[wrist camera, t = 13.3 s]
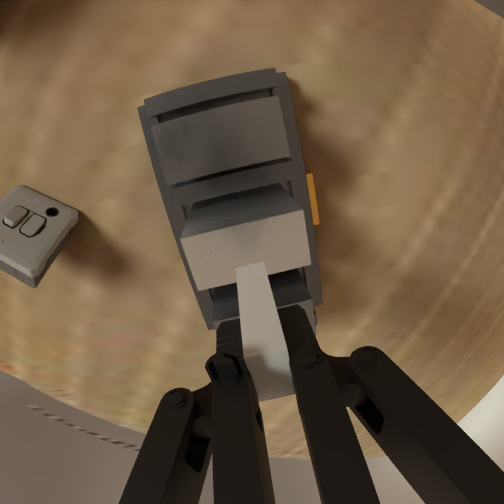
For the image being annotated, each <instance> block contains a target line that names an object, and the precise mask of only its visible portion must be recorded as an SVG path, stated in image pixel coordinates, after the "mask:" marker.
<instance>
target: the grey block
mask: <svg viewBox="0 0 504 504" xmlns="http://www.w3.org/2000/svg"><path fill="white" fill-rule="evenodd" d="M180 240H181V243H182V246H183V249H184V252H185V255H186V258H187V261H188V264H189V267H190V269H191V272H192V275H193V278H194V281H195V283H196V286H197V289H198V291H200V290H205V289H209V288H214V287H218V286H223V285H227V284H231V283H236V282H237V278H236V268H237V267H242V266H246V265H250V264H255V263H259V262H263V261H264V265H265V269H266V272H267V275H270V274H274V273H278V272H282V271H287V270H291V269H295V268H299V267H303V266H307V265H311V259H310V252H309V245H308V238H307V231H306V224H305V218H304V212H303V209H302V208H301V207H300V206H299V204H298V203H297V202H296V201H295V200H294V199H293V197H292V196H291V195H290V194H289V193H288V192H287V191H286V190H285V188H284V187H283V186H282V185H281V184H280V183H275V184H270V185H266V186H261V187H257V188H252V189H248V190H243V191H239V192H235V193H231V194H226V195H222V196H218V197H214V198H210V199H206V200H202V201H198V202H194V203H193V204H192V207H191V210H190V212H189V215H188V218H187V221H186V224H185V226H184V229H183V232H182V235H181V238H180Z"/></svg>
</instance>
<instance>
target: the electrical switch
mask: <svg viewBox="0 0 504 504" xmlns="http://www.w3.org/2000/svg"><path fill="white" fill-rule="evenodd" d="M77 222H78V211H77V210H75V209H73V208H71V207H69V206H66V205H64V204H62V203H60V202H58V201H55V200H53V199H51V198H49V197H47V196H44V195H42V194H40V193H38V192H36V191H34V190H31V189H29V188H27V187H25V186H23V185H18V186H15V187H14V188H13V189H12V190H11V191H10V192H9V193H8V194H7V195H5V196H4V197H3V198H2V199H1V200H0V269H1V270H3V271H4V272H6V273H8V274H10V275H11V276H13V277H15V278H16V279H18V280H20V281H22V282H23V283H25V284H27V285H29V286H31V287H33V288H34V289H35V286H36V287H37V286H38V284H39V282H40V281H41V279H42V278H43V276H44V275H45V273H46V272H47V270H48V269H49V267H50V266H51V264H52V263H53V261H54V260H55V258H56V257H57V255H58V254H59V252H60V251H61V250H62V248H63V247H64V245H65V244H66V243H67V241H68V240H69V233H70V229H71V227H72V228H73V227H74V226H75V224H76V223H77ZM25 280H26V281H25Z"/></svg>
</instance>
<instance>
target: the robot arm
mask: <svg viewBox="0 0 504 504" xmlns="http://www.w3.org/2000/svg"><path fill="white" fill-rule="evenodd" d="M236 278H237V290H238V301H239V312H240V318H238V319H234V320H229V321H224V322H221V323H220V325H219V327H218V329H217V340H216V345H217V347H216V354H214V355H213V356H211V357H210V358H209V359H208V360H207V362H206V365H205V369H206V371H207V373H208V375H209V377H210V379H211V382H210V383H209V384H208V385H206V386H205V387H203V388H200V389H198V390H196V391H193V392H191V391H190V390H188V389H186V388H175V389H173V390H170V391H169V392H167V393H166V394H165V395H164V396H163V398H162V399H161V401H160V404H159V406H158V408H157V411H156V413H155V415H154V418H153V420H152V423H151V425H150V427H149V430H148V432H147V435H146V437H145V439H144V442H143V444H142V447H141V449H140V452H139V454H138V457H137V459H136V461H135V464H134V467H133V469H132V471H131V474H130V476H129V479H128V481H127V484H126V486H125V489H124V492H123V494H122V496H121V499H120V502H119V504H198V503H199V499H200V495H201V492H202V488H203V484H204V480H205V477H206V473H207V469H208V466H209V462H210V458H211V454H212V455H213V489H214V504H275V498H274V492H273V485H272V479H271V472H270V466H269V459H268V453H267V446H266V439H265V433H264V426H263V419H262V413H261V410H260V407H259V402H260V401H265V400H270V399H274V398H279V397H284V396H288V395H292V394H296V398H297V404H298V409H299V414H300V416H301V420H302V424H303V428H304V432H305V437H306V441H307V445H308V449H309V453H310V457H311V461H312V465H313V470H314V474H315V478H316V482H317V486H318V490H319V495H320V499H321V503H322V504H380V502H379V499H378V496H377V493H376V490H375V487H374V484H373V481H372V478H371V475H370V472H369V469H368V467H367V464H366V461H365V458H364V455H363V452H362V450H361V447H360V444H359V441H358V439H357V436H356V433H355V430H354V428H353V425H352V422H351V420H350V417H349V414H348V412H347V409H346V407H350V409H351V410H352V411H353V413H354V414H355V415H356V417H357V418H358V419H359V420H360V422H361V423H362V424H363V426H364V427H365V428H366V429H367V431H368V432H369V433H370V435H371V436H372V437H373V438H374V440H375V441H376V442H377V444H378V445H379V446H380V447H381V449H382V450H383V451H384V452H385V454H386V455H387V456H388V457H389V459H390V460H391V461H392V463H393V464H394V465H395V466H396V468H397V469H398V470H399V471H400V473H401V474H402V475H403V476H404V478H405V479H406V480H407V481H408V483H409V484H410V485H411V486H412V488H413V489H414V490H415V491H416V493H417V494H418V495H419V496H420V498H421V499H422V500H423V501H424V503H425V504H504V472H503V471H502V470H501V469H500V468H499V467H498V466H497V465H496V464H495V462H494V461H493V460H491V458H490V457H489V456H488V455H487V454H486V453H485V452H484V451H483V450H482V449H481V448H480V447H479V446H478V445H477V444H476V443H475V442H474V441H473V440H472V439H471V438H470V437H469V436H468V435H467V434H466V433H465V432H464V431H463V430H462V429H461V428H460V427H459V426H458V425H457V424H456V423H455V422H454V421H453V420H452V419H451V418H450V417H449V416H448V415H447V414H446V413H445V412H444V411H443V410H442V409H441V408H440V407H439V406H438V405H437V404H436V403H435V402H434V401H433V400H432V399H431V398H430V397H429V396H428V395H427V394H426V393H425V392H424V391H423V390H422V389H421V388H420V387H419V386H418V385H417V384H416V383H415V382H414V381H413V380H412V379H411V378H410V377H409V376H407V375H406V374H405V373H404V372H403V371H402V370H401V369H400V368H399V367H398V366H397V365H396V364H395V363H394V362H393V361H392V360H391V359H390V358H389V357H388V356H387V355H386V354H385V353H384V352H383V351H381V350H380V349H378V348H376V347H372V346H363V347H361V348H358V349H356V350H355V351H353V352H352V354H351V355H350V357H333V356H329V355H327V354H325V353H324V352H323V351H322V350H321V349H320V347H319V344H318V342H317V339H316V337H315V334H314V332H313V329H312V327H311V325H310V322H309V319H308V317H307V314H306V312H305V310H304V309H303V308H302V307H301V306H299V305H298V304H296V305H292V306H288V307H283V308H279V309H276V305H275V301H274V298H273V294H272V290H271V287H270V283H269V279H268V276H267V272H266V269H265V265H264V261H263V262H259V263H255V264H250V265H246V266H242V267H237V268H236ZM258 399H259V402H258Z"/></svg>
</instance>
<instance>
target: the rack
mask: <svg viewBox="0 0 504 504" xmlns="http://www.w3.org/2000/svg"><path fill="white" fill-rule="evenodd" d="M144 103H145V105H143V106H141V107H138V112H139V116H140V120H141V124H142V128H143V132H144V136H145V140H146V143H147V147H148V151H149V154H150V158H151V162H152V165H153V169H154V172H155V176H156V179H157V182H158V186H159V189H160V192H161V196H162V199H163V202H164V205H165V209H166V212H167V215H168V218H169V221H170V224H171V227H172V230H173V234H174V237H175V240H176V242H177V245H178V248H179V251H180V254H181V257H182V260H183V263H184V266H185V269H186V271H187V274H188V277H189V280H190V282H191V285H192V288H193V291H194V293H195V296H196V299H197V301H198V304H199V307H200V309H201V312H202V314H203V317H204V320H205V322H206V325H207V327H208V330H211V329H215V330H216V332H217V329H218V327H219V325H220V323H221V322H224V321H229V320H234V319H238V318H240V312H239V301H238V290H237V282H236V283H231V284H227V285H223V286H218V287H214V288H209V289H205V290H200V291H198V289H197V286H196V283H195V281H194V278H193V275H192V272H191V269H190V267H189V264H188V261H187V258H186V255H185V252H184V249H183V246H182V243H181V240H180V238H181V235H182V232H183V229H184V226H185V224H186V221H187V218H188V215H189V212H190V210H191V207H192V204H193V203H194V202H198V201H202V200H206V199H210V198H214V197H218V196H222V195H226V194H231V193H235V192H239V191H243V190H248V189H252V188H257V187H261V186H266V185H270V184H275V183H280V184H281V185H282V186H283V187H284V188H285V190H286V191H287V192H288V193H289V194H290V195H291V196H292V197H293V199H294V200H295V201H296V202H297V203H298V204H299V206H300V207H301V208H302V209H303V212H304V218H305V224H306V231H307V238H308V245H309V252H310V259H311V265H307V266H303V267H299V268H295V269H291V270H287V271H282V272H278V273H274V274H270V275H267V276H268V279H269V283H270V287H271V290H272V294H273V298H274V301H275V305H276V309H279V308H283V307H288V306H292V305H296V304H298V305H299V306H301V307H302V308H303V309H304V310H305V312H306V314H307V317H308V319H309V322H310V325H311V327H312V329H313V332H314V334H315V336H316V328H315V326H316V325H317V317H316V313H315V310H314V308H313V306H316V305H320V304H322V294H321V284H320V274H319V265H318V257H317V249H316V241H315V233H314V226H313V225H317V224H320V223H319V215H318V208H317V201H316V194H315V187H314V181H313V174H312V173H311V172H310V171H305V167H304V161H303V155H302V150H301V144H300V139H299V134H298V128H297V123H296V118H295V113H294V109H293V104H292V99H291V94H290V90H289V85H288V81H287V76H286V72H282V73H276V71H275V68H271V69H264V70H258V71H252V72H246V73H241V74H236V75H231V76H226V77H222V78H217V79H213V80H209V81H205V82H201V83H197V84H193V85H189V86H186V87H182V88H179V89H175V90H172V91H169V92H165V93H162V94H159V95H156V96H153V97H150V98H147V99H144Z"/></svg>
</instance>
